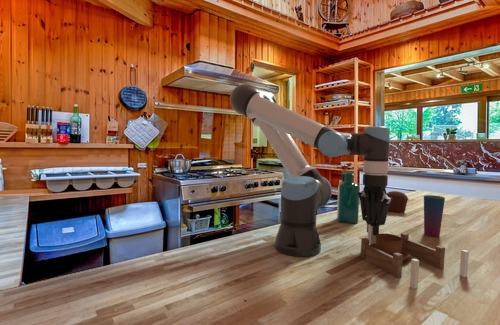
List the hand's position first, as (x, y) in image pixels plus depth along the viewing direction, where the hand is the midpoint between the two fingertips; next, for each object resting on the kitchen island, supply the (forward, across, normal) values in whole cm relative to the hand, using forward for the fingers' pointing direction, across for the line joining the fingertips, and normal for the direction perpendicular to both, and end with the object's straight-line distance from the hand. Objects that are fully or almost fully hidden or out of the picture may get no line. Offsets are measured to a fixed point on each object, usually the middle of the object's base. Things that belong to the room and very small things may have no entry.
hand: (372, 243), depth 96 cm
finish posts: (+2, -24, 0) cm, 24 cm away
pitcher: (+2, +30, -15) cm, 34 cm away
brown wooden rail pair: (+2, -12, 0) cm, 12 cm away
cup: (+2, +3, -32) cm, 33 cm away
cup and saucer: (+2, -7, 0) cm, 7 cm away
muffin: (+2, +37, -51) cm, 63 cm away
